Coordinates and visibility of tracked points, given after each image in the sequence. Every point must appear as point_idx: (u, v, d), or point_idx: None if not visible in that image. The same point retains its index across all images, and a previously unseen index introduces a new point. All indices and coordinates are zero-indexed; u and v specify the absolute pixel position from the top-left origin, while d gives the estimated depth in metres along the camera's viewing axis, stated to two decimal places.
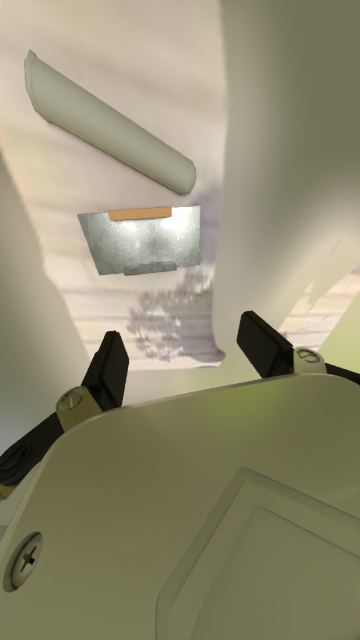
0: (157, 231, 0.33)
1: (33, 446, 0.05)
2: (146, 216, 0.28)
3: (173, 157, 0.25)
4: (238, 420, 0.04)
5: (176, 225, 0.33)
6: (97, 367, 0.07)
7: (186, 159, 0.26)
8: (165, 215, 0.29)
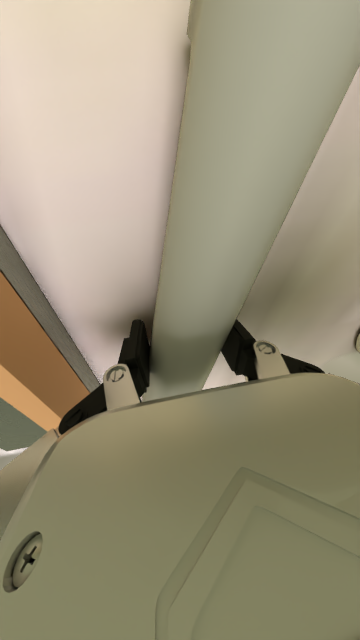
0: None
1: (88, 410, 0.06)
2: (22, 409, 0.08)
3: None
4: (238, 420, 0.04)
5: None
6: (132, 348, 0.08)
7: None
8: None
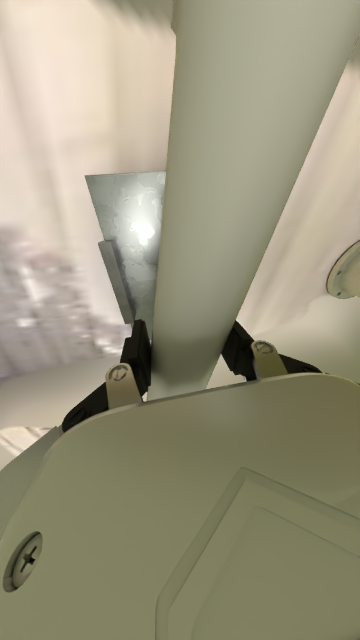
0: None
1: (91, 409, 0.06)
2: None
3: None
4: (238, 420, 0.04)
5: None
6: (134, 348, 0.08)
7: None
8: None
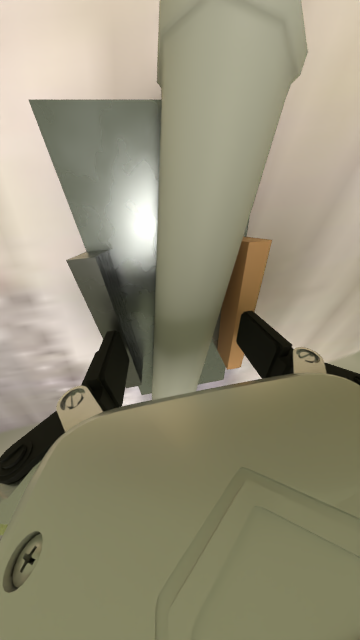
0: None
1: (34, 445, 0.05)
2: (236, 332, 0.13)
3: None
4: (238, 420, 0.04)
5: None
6: (97, 367, 0.07)
7: None
8: (230, 360, 0.15)
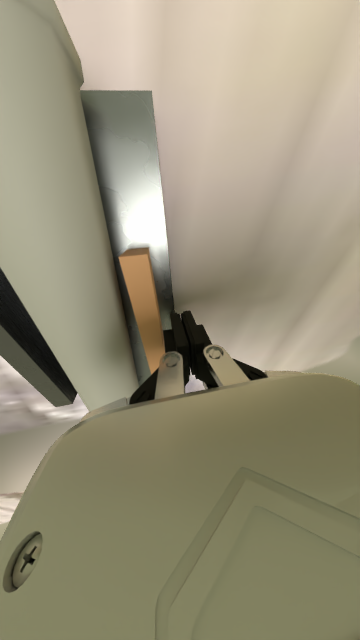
0: (138, 345, 0.15)
1: (152, 392, 0.07)
2: (148, 351, 0.12)
3: None
4: (238, 420, 0.04)
5: None
6: (180, 337, 0.09)
7: None
8: None
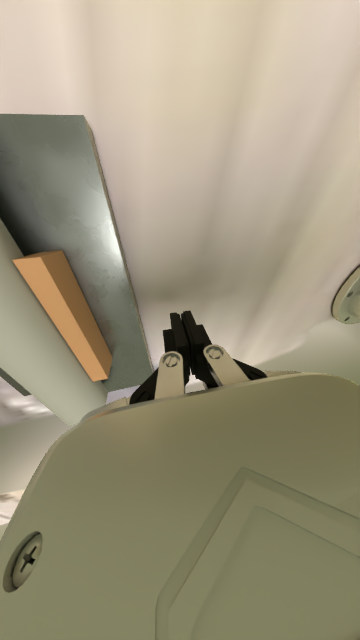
0: (104, 336, 0.16)
1: (152, 392, 0.07)
2: (72, 345, 0.12)
3: (77, 403, 0.14)
4: (238, 420, 0.04)
5: (123, 362, 0.19)
6: (180, 337, 0.09)
7: (97, 404, 0.16)
8: (89, 373, 0.15)
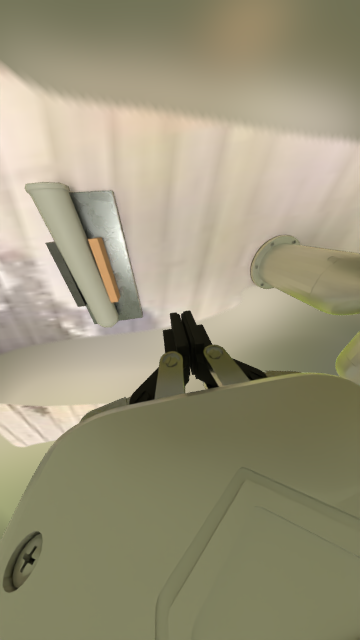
0: None
1: (152, 392, 0.07)
2: (103, 279, 0.29)
3: (104, 310, 0.31)
4: (238, 420, 0.04)
5: (124, 300, 0.35)
6: (180, 337, 0.09)
7: (113, 316, 0.33)
8: (109, 296, 0.31)
